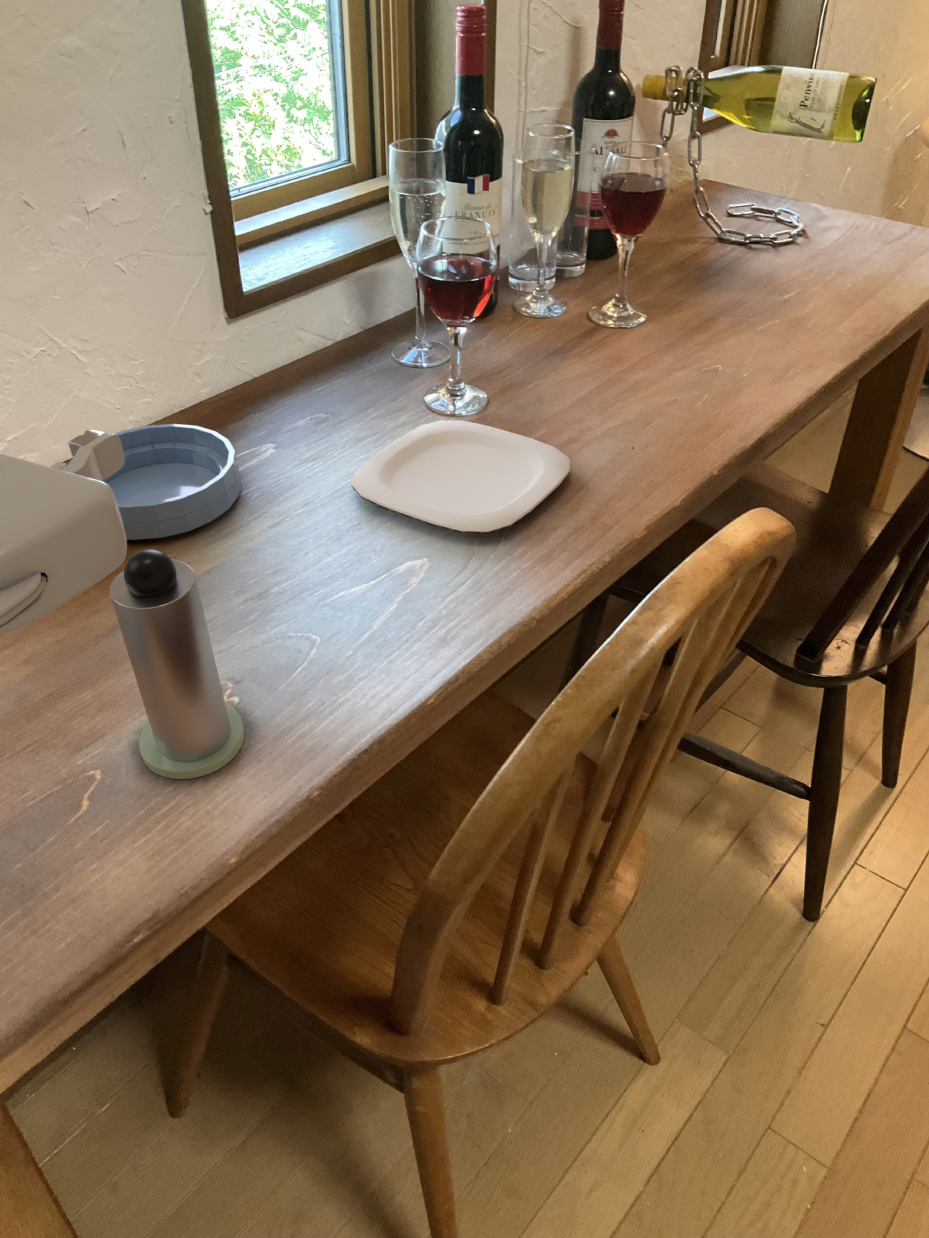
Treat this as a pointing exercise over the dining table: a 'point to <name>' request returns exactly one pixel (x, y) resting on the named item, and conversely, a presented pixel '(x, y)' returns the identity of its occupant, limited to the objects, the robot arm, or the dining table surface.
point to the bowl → (173, 479)
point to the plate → (462, 476)
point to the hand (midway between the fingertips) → (36, 426)
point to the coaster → (194, 768)
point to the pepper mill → (171, 655)
